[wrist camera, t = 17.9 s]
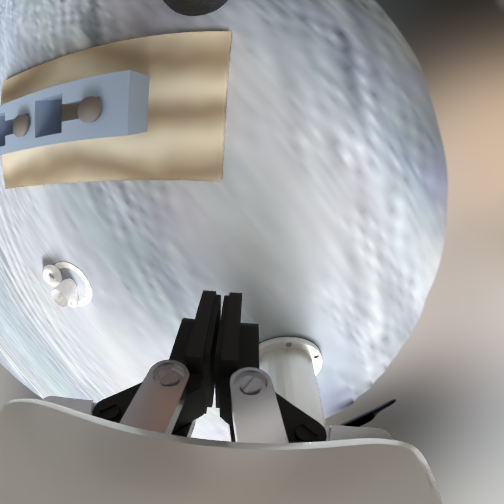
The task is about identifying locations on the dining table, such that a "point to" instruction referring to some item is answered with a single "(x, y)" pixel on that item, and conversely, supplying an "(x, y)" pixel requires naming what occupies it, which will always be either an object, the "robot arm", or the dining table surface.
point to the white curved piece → (66, 285)
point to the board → (158, 121)
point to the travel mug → (194, 6)
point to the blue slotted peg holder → (49, 119)
